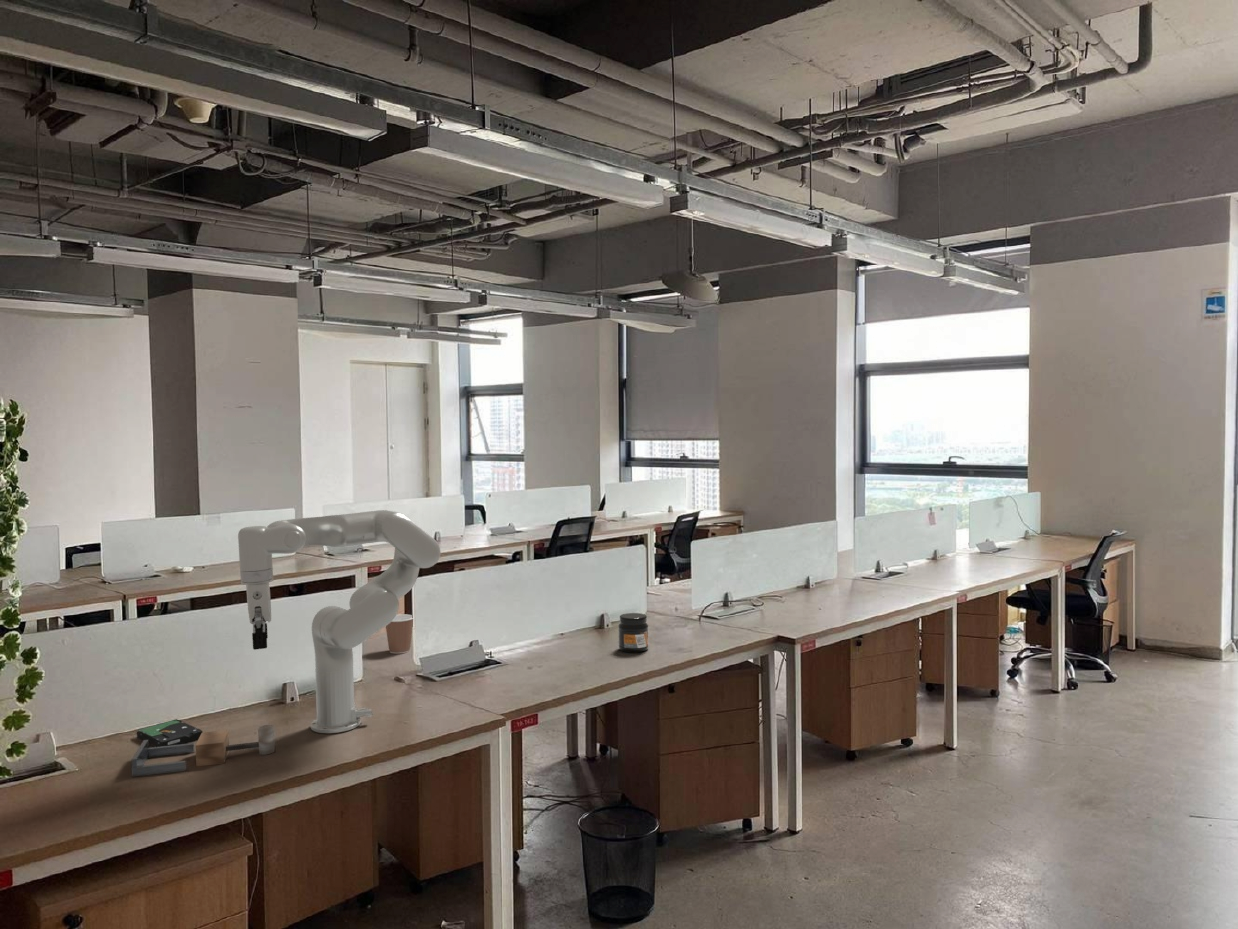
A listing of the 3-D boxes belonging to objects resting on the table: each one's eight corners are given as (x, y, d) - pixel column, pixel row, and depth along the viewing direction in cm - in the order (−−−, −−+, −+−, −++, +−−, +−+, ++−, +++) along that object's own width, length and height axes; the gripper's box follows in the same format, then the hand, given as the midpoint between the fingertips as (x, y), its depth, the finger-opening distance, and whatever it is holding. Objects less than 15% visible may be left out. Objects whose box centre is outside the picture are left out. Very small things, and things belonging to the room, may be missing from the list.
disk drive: (204, 741, 224) (176, 728, 233) (203, 730, 224) (176, 718, 233) (162, 753, 216) (135, 739, 225) (162, 742, 216) (135, 728, 225)
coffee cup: (406, 646, 317) (406, 613, 316) (420, 651, 309) (419, 617, 308) (379, 651, 310) (379, 617, 310) (392, 656, 302) (391, 622, 302)
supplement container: (645, 654, 302) (644, 619, 301) (615, 652, 304) (614, 618, 304) (651, 646, 312) (650, 613, 311) (622, 645, 314) (621, 612, 314)
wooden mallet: (276, 744, 219) (275, 720, 219) (273, 757, 211) (272, 732, 210) (202, 753, 214) (201, 728, 214) (196, 766, 206) (195, 741, 205)
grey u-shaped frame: (194, 751, 215) (193, 735, 215) (185, 770, 203) (184, 753, 203) (144, 756, 212) (143, 740, 212) (132, 777, 200) (131, 759, 200)
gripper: (272, 580, 212) (276, 650, 213) (273, 569, 228) (276, 634, 229) (238, 583, 209) (242, 654, 210) (241, 572, 225) (245, 638, 227)
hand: (260, 644), depth 220 cm, fingers open, 9 cm apart
